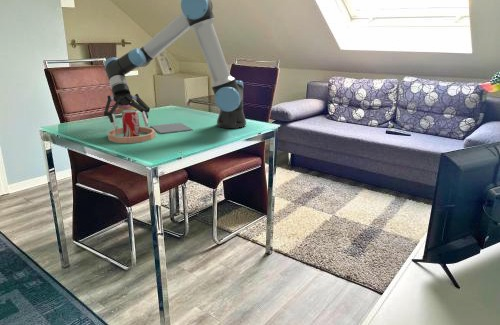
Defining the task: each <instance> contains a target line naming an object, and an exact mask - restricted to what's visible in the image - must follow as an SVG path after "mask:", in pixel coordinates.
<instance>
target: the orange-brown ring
mask: <svg viewBox="0 0 500 325" xmlns="http://www.w3.org/2000/svg"><path fill="white" fill-rule="evenodd" d="M139 129H140V133H142V134H143V133H145V134H143V135H139V136H135V137H124V136H119V135H120V134H124V133H123V126H122V127H119V128H118V127H117V130H115V128H112V129H111V130H109V131H107V139H108V141H109V142H113V143H116V144H135V143H143V142H144V143H145V142H148V141H151V140H153V139H155V138H156V131H155V130H154V129H153V128H151V127H148V126H139ZM117 135H118V136H117Z"/></svg>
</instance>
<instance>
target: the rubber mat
mask: <svg viewBox="0 0 500 325" xmlns="http://www.w3.org/2000/svg"><path fill="white" fill-rule="evenodd" d="M149 128H152V129H154V131H155V132H157V133H159V134H160V135H166V134H174V133H182V132H191V130H192V131H193V128H191V127H189V126H187V125H185V124H184V123H182V122H176V123H164V124H154V125H150V126H149Z"/></svg>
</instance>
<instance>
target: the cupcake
mask: <svg viewBox="0 0 500 325" xmlns="http://www.w3.org/2000/svg"><path fill="white" fill-rule="evenodd" d="M118 110H119V111H120V113H121V115H122V114H123V111H124V110H135V108H134V107H133V106H130V105H124V106H121V105H119V106H118Z"/></svg>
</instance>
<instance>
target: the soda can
mask: <svg viewBox="0 0 500 325" xmlns="http://www.w3.org/2000/svg"><path fill="white" fill-rule="evenodd" d="M139 120H140V118H139V113H138V112H137V109H134V110H124V111H123V114H122V113H121V122H122V127H123V133H122V134H123V137H135V136H141V135H140V134H141V132H140V129H139V127H140V121H139Z"/></svg>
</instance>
